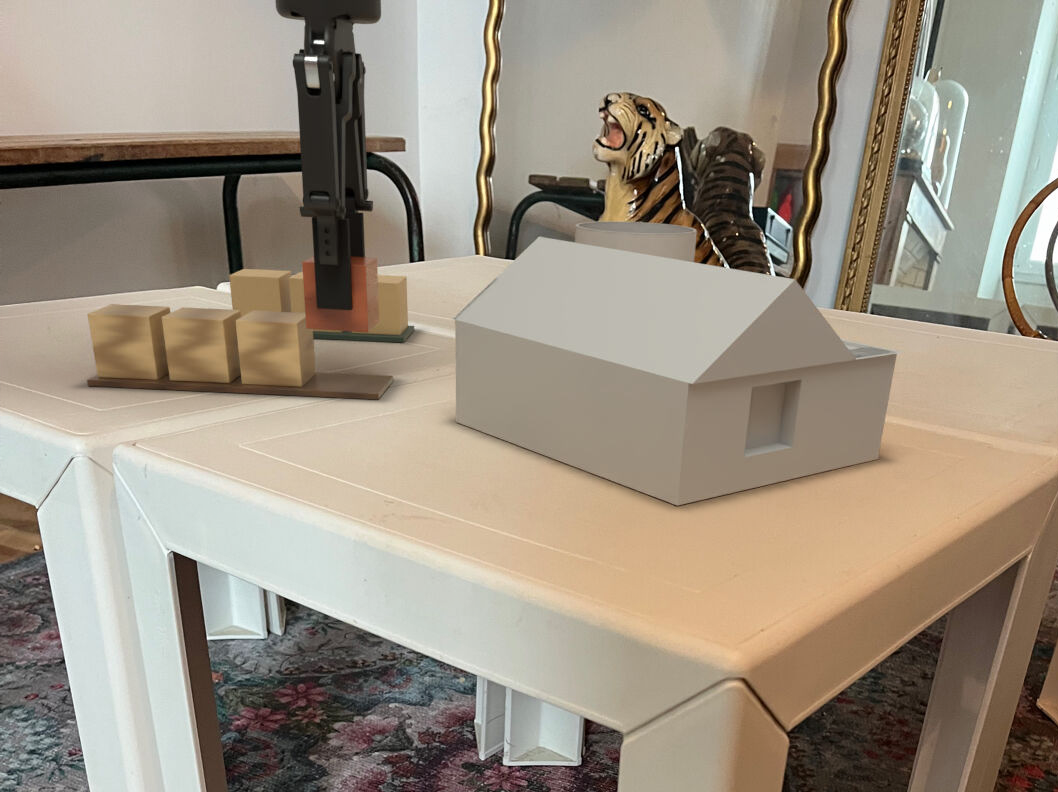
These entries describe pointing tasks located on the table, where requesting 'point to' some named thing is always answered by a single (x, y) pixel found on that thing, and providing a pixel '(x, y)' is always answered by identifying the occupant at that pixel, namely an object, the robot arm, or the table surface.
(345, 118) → the robot arm
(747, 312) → the toy house
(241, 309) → the block row
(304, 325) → the front word
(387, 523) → the table surface
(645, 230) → the planter
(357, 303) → the copper orange cube
